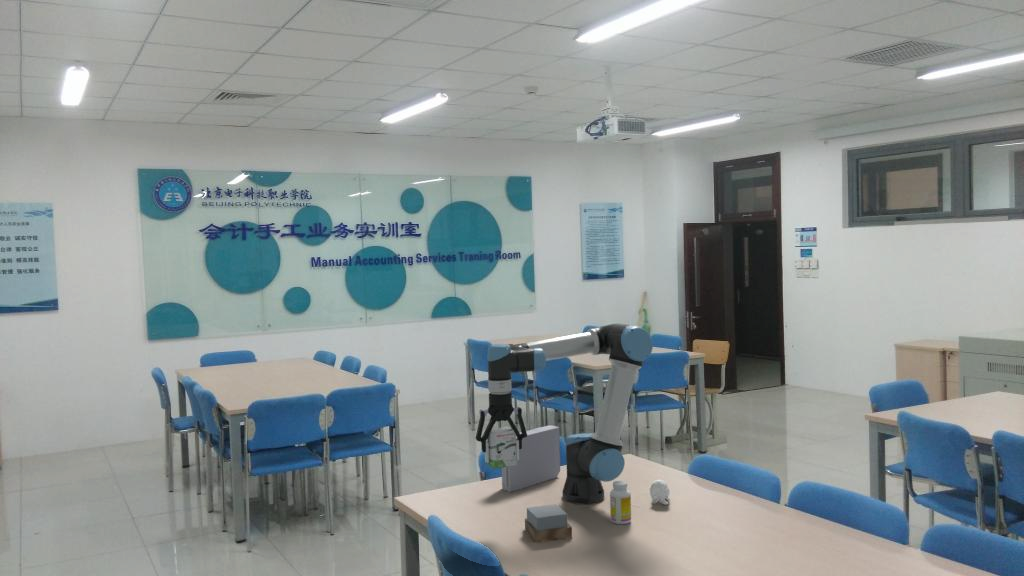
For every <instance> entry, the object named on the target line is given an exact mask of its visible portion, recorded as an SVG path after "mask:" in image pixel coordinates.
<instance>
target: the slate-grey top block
mask: <svg viewBox="0 0 1024 576" xmlns="http://www.w3.org/2000/svg"><path fill="white" fill-rule="evenodd" d="M526 518H527V521H528V522H529V523H530V524H531V525H532V526H533V527H534V528H535V529H536V530H537V531H539V530H547V529H554V528H561V527H568V524H569V522H568V513H567V512H566V511H565V510H563V508H561V507H560V506H559V505H558V504H557V503H555V504H548V505H547V504H546V505H538V506H531V507H526Z"/></svg>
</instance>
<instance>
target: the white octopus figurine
mask: <svg viewBox="0 0 1024 576" xmlns="http://www.w3.org/2000/svg"><path fill="white" fill-rule="evenodd" d="M649 494H650V498H651V499H652V500H651V504H657V503H658V502H660V504H662V505H665V506H667V504H668V505H669V502H668V500H669V498H670V495H671V494H670V488H669V486H668V484H667V482H666V481H665V480H663V479H656V480H654V481H653V482H651V484H650V487H649Z"/></svg>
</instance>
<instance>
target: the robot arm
mask: <svg viewBox="0 0 1024 576" xmlns="http://www.w3.org/2000/svg"><path fill="white" fill-rule="evenodd" d="M653 346H654V343H653V339H652V336H651V335H650V333H649V331H647V329H645V328H643V327H641V326H639V325H633V324H623V323H611V324H607V325H603V326H602V325H601V326H598V327H593V328H592V327H591V328H589V329H587V330H586V331H585V332H581V333H575V334H569V335H563V336H557V337H552V338H545V339H539V340H534V341H528V342H527V341H526V342H523V343H516V344H513V343H506V344H505V343H503V344H497V343H496V344H491V345H489V346H488V347H487V359H486V360H487V370H488V371H487V376H488V381H487V382H488V383H487V384H488V385H487V387H488V392H489V394H488V408H487V409H484V410H483V409H479V411H478V412H479V421H478V425H477V429H476V434H475V440H476V441H477V442H480V443H481V452H482V453H484V462H485V463H487V464H488V463H489V450H488V442H487V438H488V436H489V434H490V432H491V430H492V429H494V425H495V424H496V422H497V423H498V422H501V421H503V422H507V423H508V424H509V426H510V428H512V429H513V430H514V432H515V434H516V436H517V438H516V457H517V460H519V449H522V439H523V438H525V437H527V433H526V431H527V429H526V426H525V423H524V419H523V415H522V414H523V413H522V412H523V409H522V408H521V407H519V406H517V407H513V396H512V395H513V394H512V392H511V391H512V387H513V386H512V374H516V373H526V372H527V373H528V372H535V373H536V372H537V371H543V370H544V369H545V367H546V364H547V361H548V362H549V361H553V360H559V359H564V358H570V357H575V356H581V355H582V356H583V355H585V354H591V355H593V356H596V355H609V356H608V360H609V363H610V364H611V367H610V371H609V375H608V381H607V385H606V388H605V392H604V396H603V399H602V405H601V407H600V413H599V417H598V422H597V425H596V429H595V431H594V432H592V433H591V432H589V433H587V432H586V433H585V432H584V433H576V434H570V435H567V437H566V440H565V453H566V454H565V455H566V456H565V458H566V478H565V481H564V485H563V488H562V492H561V493H562V499H563V500H564V501H566V502H568V503H572V504H577V505H585V504H587V505H588V504H589V505H591V504H596V503H599V502H602V501H603V500H605V490H604V489H605V488H604V487H603V484H602V482H606V483H607V482H612V481H614V480H616V479H617V478H618V477H619V476H621V474H622V473H623V471H624V469H625V458H624V455H623V454H622V451H623V450H622V449H623V445H624V444H623V442H622V440H621V434H622V430H623V427H624V422H625V419H626V415H627V411H628V410H627V409H628V406H629V401H630V397H631V393H632V390H633V386H634V380H635V378H636V373H637V371H638V370H640V369H642V367H643V363H644V361H645V360H647V359H648V358H649V357H650V356H651V354H652V352H653ZM513 412H514V414H515V415H516V418H517V421H518V422H517V423H518V425H519V428H520V432H519V430H518V428H517V426H516V425H515V423H514V421H513V419H512V417H511V416H512V414H513ZM488 415H490V418H489V420H488V421H489V422H488V423H487V425H486V427H485V430H484V426H485V421H486V417H487V416H488ZM483 430H484V431H483ZM520 433H522V434H520Z"/></svg>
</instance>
